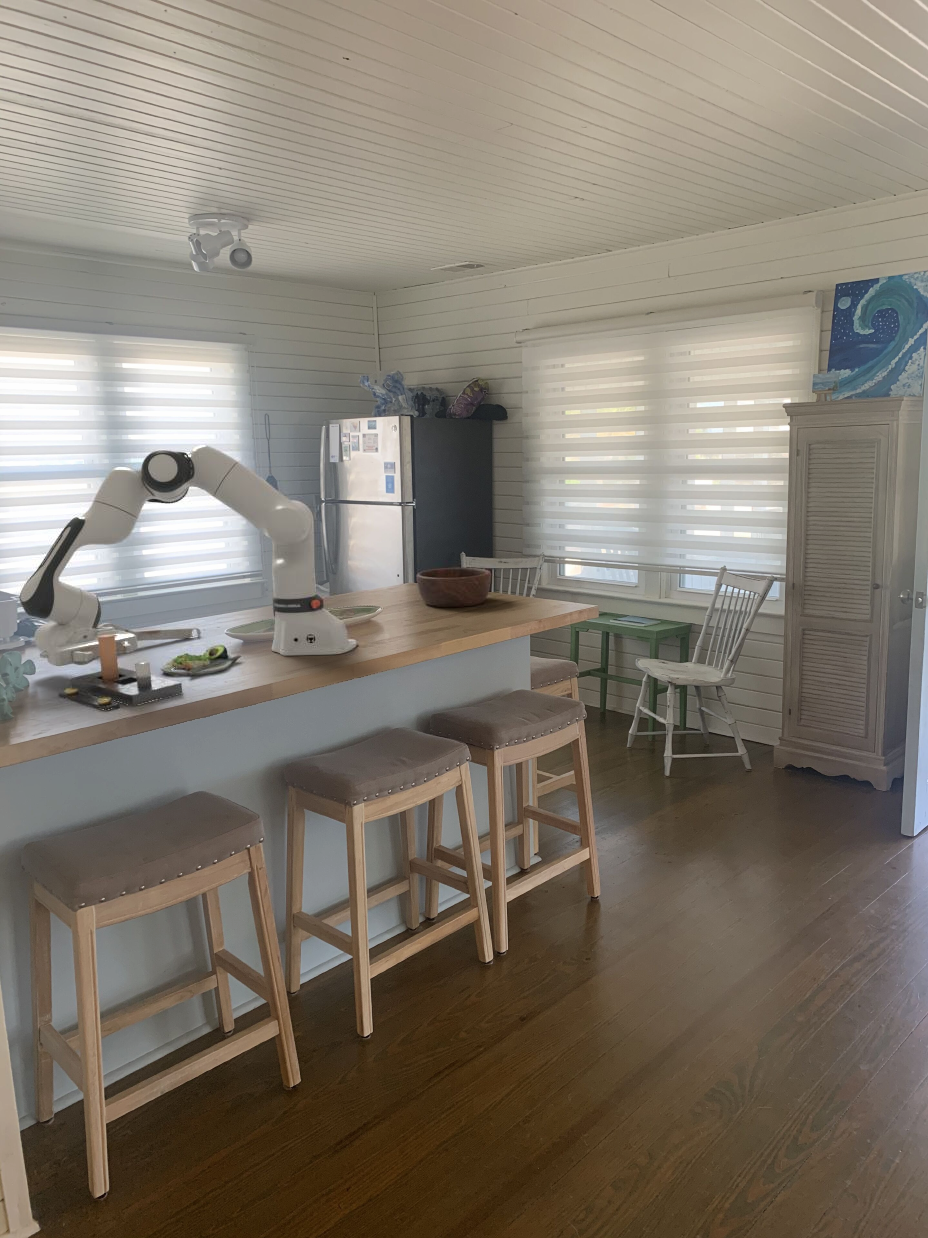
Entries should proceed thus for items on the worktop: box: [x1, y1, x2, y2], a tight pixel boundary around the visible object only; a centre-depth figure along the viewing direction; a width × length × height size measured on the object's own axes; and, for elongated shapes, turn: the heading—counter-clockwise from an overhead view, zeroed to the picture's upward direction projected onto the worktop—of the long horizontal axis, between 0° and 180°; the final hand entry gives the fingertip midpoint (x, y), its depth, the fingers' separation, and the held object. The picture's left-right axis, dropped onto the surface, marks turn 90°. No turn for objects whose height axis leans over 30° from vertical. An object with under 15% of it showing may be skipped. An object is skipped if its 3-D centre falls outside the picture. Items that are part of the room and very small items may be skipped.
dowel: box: [98, 635, 119, 681], centre depth 205 cm, size 4×4×12 cm
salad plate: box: [160, 644, 242, 676], centre depth 221 cm, size 19×18×5 cm
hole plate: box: [58, 661, 183, 711], centre depth 200 cm, size 26×17×8 cm, turn 51°
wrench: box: [96, 622, 202, 642], centre depth 250 cm, size 8×2×30 cm
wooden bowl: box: [416, 567, 492, 608], centre depth 301 cm, size 25×25×10 cm
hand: (110, 653), depth 205 cm, fingers open, 8 cm apart
